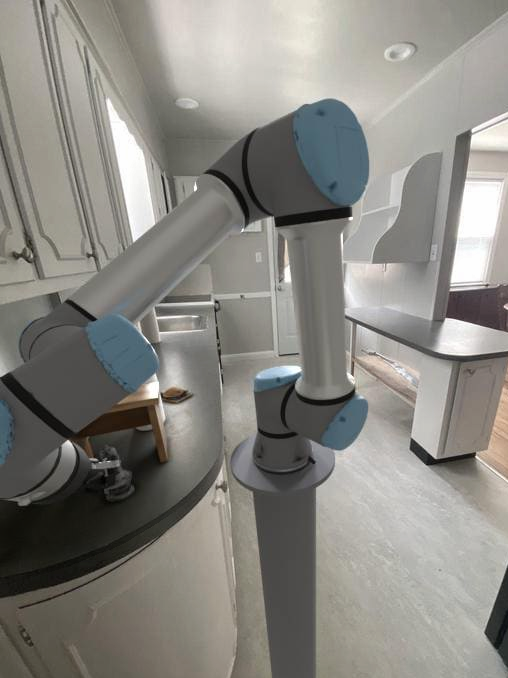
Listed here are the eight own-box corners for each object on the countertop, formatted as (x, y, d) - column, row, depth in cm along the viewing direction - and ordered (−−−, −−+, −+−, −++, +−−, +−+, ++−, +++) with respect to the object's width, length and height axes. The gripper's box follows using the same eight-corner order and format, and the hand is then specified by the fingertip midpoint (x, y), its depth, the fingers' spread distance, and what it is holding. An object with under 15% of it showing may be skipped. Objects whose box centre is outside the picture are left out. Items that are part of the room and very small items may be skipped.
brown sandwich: (194, 395, 110) (193, 385, 109) (176, 404, 103) (174, 394, 102) (173, 390, 115) (172, 381, 113) (155, 398, 108) (153, 389, 106)
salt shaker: (138, 481, 67) (125, 435, 63) (131, 500, 62) (116, 451, 57) (110, 484, 67) (95, 438, 62) (100, 504, 61) (82, 455, 57)
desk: (172, 460, 74) (157, 397, 68) (71, 483, 67) (45, 416, 61) (170, 439, 83) (158, 382, 76) (82, 458, 76) (59, 397, 70)
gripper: (-39, 520, 30) (62, 521, 51) (107, 484, 34) (145, 499, 55) (-34, 447, 33) (60, 477, 54) (102, 422, 37) (140, 458, 58)
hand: (103, 488), depth 54 cm, fingers closed
